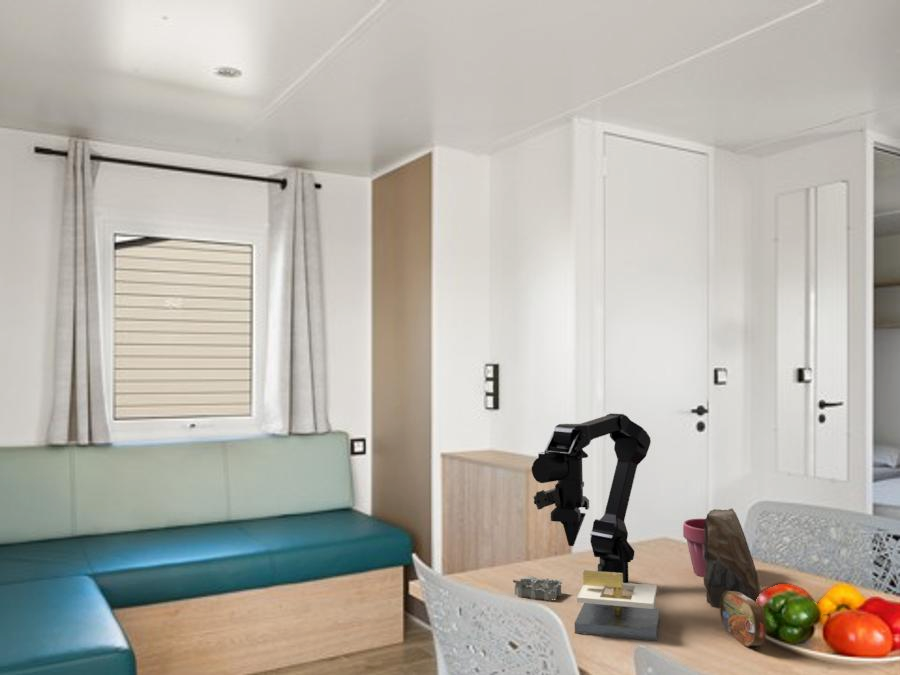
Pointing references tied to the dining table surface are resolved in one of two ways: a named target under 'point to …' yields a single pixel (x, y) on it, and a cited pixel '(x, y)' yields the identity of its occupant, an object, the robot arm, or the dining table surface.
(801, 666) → the dining table surface
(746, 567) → the dark brown tall lump
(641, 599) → the cover
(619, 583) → the key
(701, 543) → the plant pot
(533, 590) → the egg carton
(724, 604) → the tin
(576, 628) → the grey flat block
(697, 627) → the dining table surface
